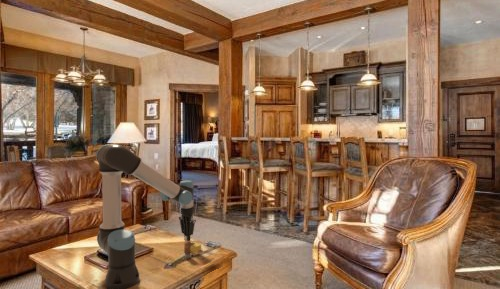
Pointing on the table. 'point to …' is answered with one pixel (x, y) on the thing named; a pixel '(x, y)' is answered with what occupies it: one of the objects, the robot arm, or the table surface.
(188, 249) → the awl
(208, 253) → the plywood panel
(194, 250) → the yellow flat block
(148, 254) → the table surface
